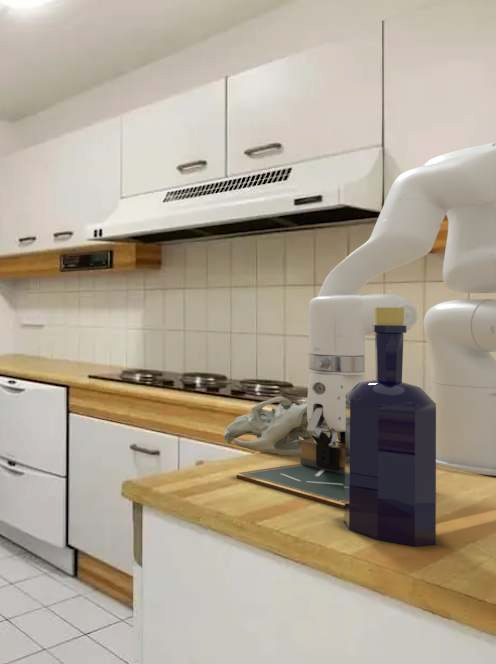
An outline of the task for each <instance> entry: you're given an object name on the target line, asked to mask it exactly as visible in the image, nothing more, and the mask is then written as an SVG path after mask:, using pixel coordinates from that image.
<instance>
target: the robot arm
mask: <svg viewBox="0 0 496 664" xmlns="http://www.w3.org/2000/svg"><path fill="white" fill-rule="evenodd" d="M445 217H446V218H447V223H448V224H447V226H448V227H447V236H446V243H445V252H444V256H443V257H444V258H443V264H442V281H443V284H444V285H445V286H446V287H447V288H448V289H449V290H451V291H454V292H457V293H465V294H496V141H494V142H490V143H486V144H480V145H475V146H470V147H467V148H466V147H465V148H462V149H457V150H454V151H453V150H452V151H450V152H447V153H443V154H440V155H437V156H435V157H433V158H430V159H429V160H427V162H425V163H424V164H423V165H422V166H421V165H420V166H419V167H418V166H417V167H414V168H411V169H409V170H406V171H404V172H403V173H401V174H400V175H398V176H397V177H396V179H394V181H393V183H392V184H391V187H390V189H389V191H388V194H387V196H386V198H385V201H384V204H383V205H382V208H381V211H380V213H379V215H378V217H377V219H376V222H375V224H374V226H373V230H372V231H371V234H370V236H369V238H368V240H367V241H366V242H364V243H363V244H362V245H360V246H359V247H357V248H356V249H354V251H352V252H351V253H349V255H347V256H346V257H345V258H344V259H343V260H342V261H340V262H339V263H338V264H337V265H336V266H335V267H334V268H332V269H331V271H330V272H329V273H328V275H327V276H326V277H325V279H324V281H323V283H322V285H321V287H320V290H319V292H318V295H317V296H315V297H313V298H311V299H310V300H309V301H308V302H309V303H308V309H307V311H308V372H309V373H310V374H309V379H308V386H307V399H306V401H307V419H308V423H309V424H308V426H307V431H308V432H309V433H310V434H311V435H312V437H313V438H314V444H315V445H316V465H317V466H318V467H321V468H325V469H329V470H334V471H337V470H339V448H336V442H338V443H343V444H345V418H346V394H347V393H348V392H349V391H350V390H351V389H353V388H354V387H355V386H356V385H357V384H358V383H359V382H366V381H368V380H367V377H366V340H365V339H366V337H365V336H368V337H369V336H371V337H375V332H372V327H373V325H375V308H404V322H403V325H404V326H406V333H407V332H409V331H410V330H411V329H413V327H414V326H415V325H416V323H417V321H418V318H419V313H418V309H417V307H416V305H415V304H414V302H412V301H411V300H410V299H408V298H406V297H405V296H402V295H399V294H393V293H359V292H360V291H361V289H362V288H363V287H364V286H366V285H367V284H368V283H369V282H371V281H372V280H374V279H375V278H377V277H379V276H382V275H384V274H385V273H388V272H390V271H392V270H395V269H398V268H400V267H403V266H405V265H407V264H410V263H412V262H414V261H417V260H418V259H421V258H423V257H425V256H427V255H428V254H429V253H430V252H431V251H432V250H433V247H434V244H435V242H436V239H437V237H438V235H439V232H440V230H441V227H442V225H443V222H444V220H445ZM422 322H423V323H422V324H423V332H424V335H425V339H426V343H427V347H428V353H429V363H430V398H431V399H432V400H433V401H434V402H435V403H436V467H439V468H444V469H449V470H454V471H460V472H463V473H469V474H475V475H481V476H490V477H491V476H492V477H493V476H494V477H496V358H495V357H494V356H493V355H492V353H493V352H494V353H496V299H493V298H483V299H482V298H479V299H478V298H476V299H475V298H474V299H471V298H470V299H453V300H447V301H442V302H439V303H437V304H435V305H433V306H431V307H430V308H429V309H428V310H427V311H426V313H425V314H424V317H423V321H422ZM324 426H328V427H329V429H328V428H323V427H324ZM323 431H324V432H329V433H328V434H329V437H328V436H327V434H326V433H323Z"/></svg>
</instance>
